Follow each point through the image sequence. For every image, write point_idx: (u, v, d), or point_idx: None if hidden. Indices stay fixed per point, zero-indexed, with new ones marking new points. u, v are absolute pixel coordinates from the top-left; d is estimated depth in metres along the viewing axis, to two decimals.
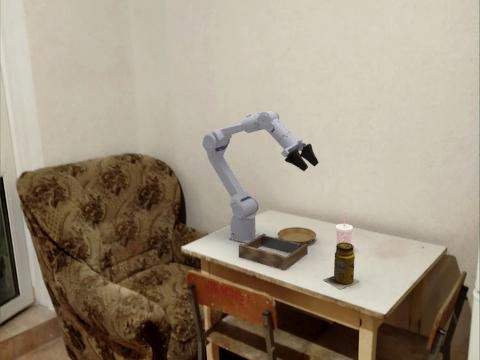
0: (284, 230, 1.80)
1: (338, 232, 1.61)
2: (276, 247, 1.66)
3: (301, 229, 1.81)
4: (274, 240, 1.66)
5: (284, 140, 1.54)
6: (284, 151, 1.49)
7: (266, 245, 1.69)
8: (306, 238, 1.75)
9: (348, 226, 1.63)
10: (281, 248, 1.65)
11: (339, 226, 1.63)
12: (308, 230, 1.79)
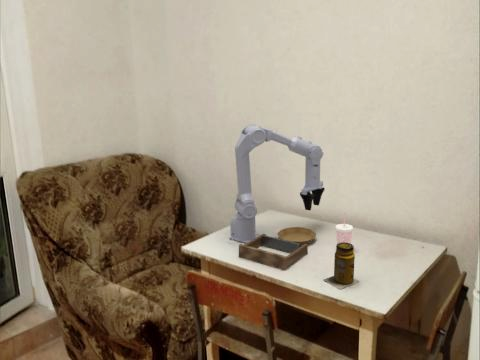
0: (284, 230, 1.80)
1: (338, 232, 1.61)
2: (276, 247, 1.66)
3: (301, 229, 1.81)
4: (274, 240, 1.66)
5: (311, 179, 1.76)
6: (304, 191, 1.74)
7: (266, 245, 1.69)
8: (306, 238, 1.75)
9: (348, 226, 1.63)
10: (281, 248, 1.65)
11: (339, 226, 1.63)
12: (308, 230, 1.79)
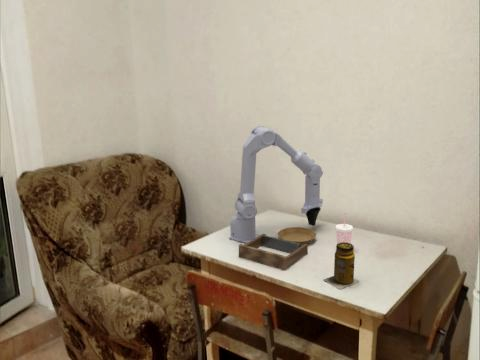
0: (284, 230, 1.80)
1: (338, 232, 1.61)
2: (276, 247, 1.66)
3: (301, 229, 1.81)
4: (274, 240, 1.66)
5: (310, 197, 1.78)
6: (304, 209, 1.76)
7: (266, 245, 1.69)
8: (306, 238, 1.75)
9: (348, 226, 1.63)
10: (281, 248, 1.65)
11: (339, 226, 1.63)
12: (308, 230, 1.79)
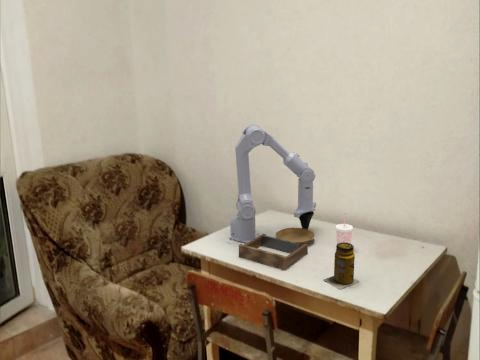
0: (282, 231, 1.79)
1: (338, 232, 1.61)
2: (276, 247, 1.66)
3: (300, 230, 1.79)
4: (274, 240, 1.66)
5: (303, 201, 1.74)
6: (297, 214, 1.72)
7: (266, 245, 1.69)
8: (304, 239, 1.74)
9: (348, 226, 1.63)
10: (281, 248, 1.65)
11: (339, 226, 1.63)
12: (307, 231, 1.78)
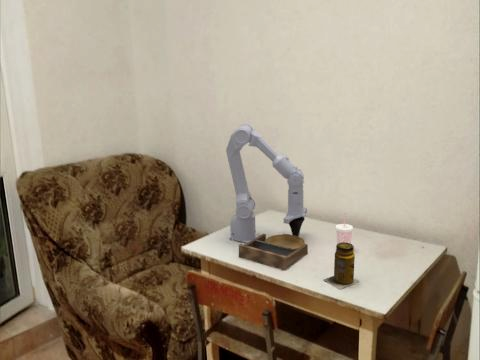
0: (272, 237, 1.73)
1: (338, 232, 1.61)
2: None
3: (290, 236, 1.74)
4: (266, 245, 1.62)
5: (293, 207, 1.68)
6: (286, 220, 1.66)
7: None
8: (294, 246, 1.68)
9: (348, 226, 1.63)
10: None
11: (339, 226, 1.63)
12: (297, 237, 1.72)
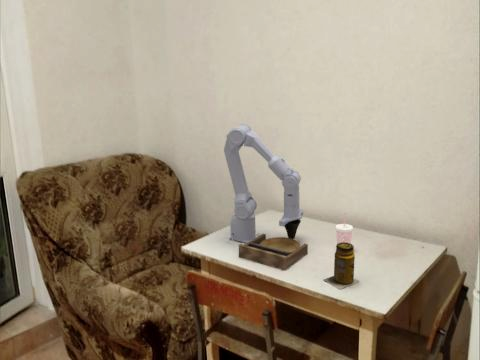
0: (268, 240, 1.70)
1: (338, 232, 1.61)
2: None
3: (286, 239, 1.71)
4: (261, 248, 1.60)
5: (289, 209, 1.66)
6: (282, 222, 1.63)
7: None
8: (290, 249, 1.66)
9: (348, 226, 1.63)
10: None
11: (339, 226, 1.63)
12: (293, 240, 1.69)
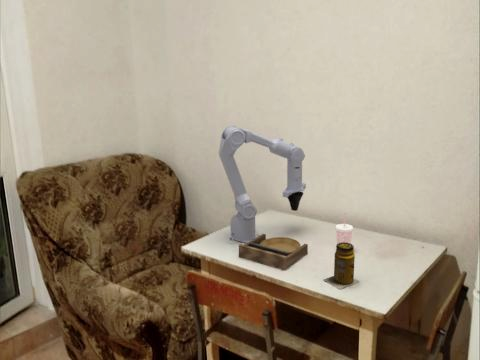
0: (268, 240, 1.70)
1: (338, 232, 1.61)
2: None
3: (286, 239, 1.71)
4: (261, 248, 1.60)
5: (292, 181, 1.74)
6: (285, 193, 1.72)
7: None
8: (290, 249, 1.66)
9: (348, 226, 1.63)
10: None
11: (339, 226, 1.63)
12: (293, 240, 1.69)
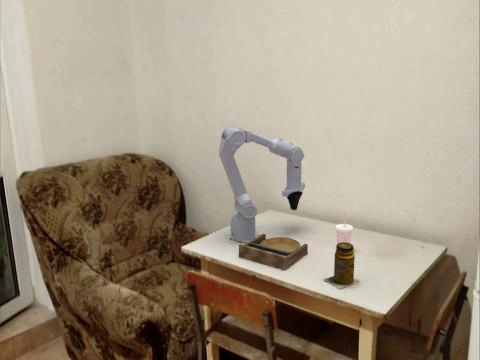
0: (268, 240, 1.70)
1: (338, 232, 1.61)
2: None
3: (286, 239, 1.71)
4: (261, 248, 1.60)
5: (292, 181, 1.75)
6: (285, 193, 1.72)
7: None
8: (290, 249, 1.66)
9: (348, 226, 1.63)
10: None
11: (339, 226, 1.63)
12: (293, 240, 1.69)
